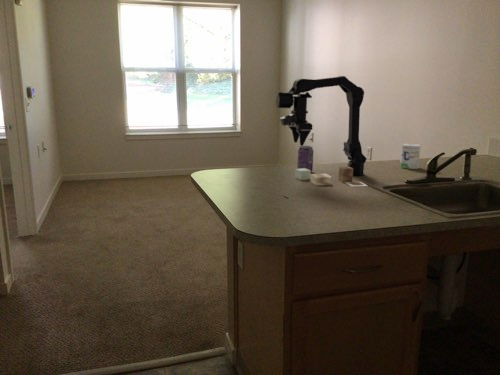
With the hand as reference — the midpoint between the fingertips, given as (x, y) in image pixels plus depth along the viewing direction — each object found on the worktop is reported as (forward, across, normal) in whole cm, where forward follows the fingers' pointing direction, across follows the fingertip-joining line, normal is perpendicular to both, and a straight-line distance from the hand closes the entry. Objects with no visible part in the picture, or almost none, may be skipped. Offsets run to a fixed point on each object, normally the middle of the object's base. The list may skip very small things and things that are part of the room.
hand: (298, 143), depth 198 cm
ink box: (+15, -12, +62) cm, 65 cm away
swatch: (+15, +19, +20) cm, 31 cm away
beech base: (+15, +14, +6) cm, 21 cm away
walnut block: (+15, +12, +18) cm, 26 cm away
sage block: (+15, +4, +1) cm, 15 cm away
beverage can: (+15, -8, +6) cm, 18 cm away
